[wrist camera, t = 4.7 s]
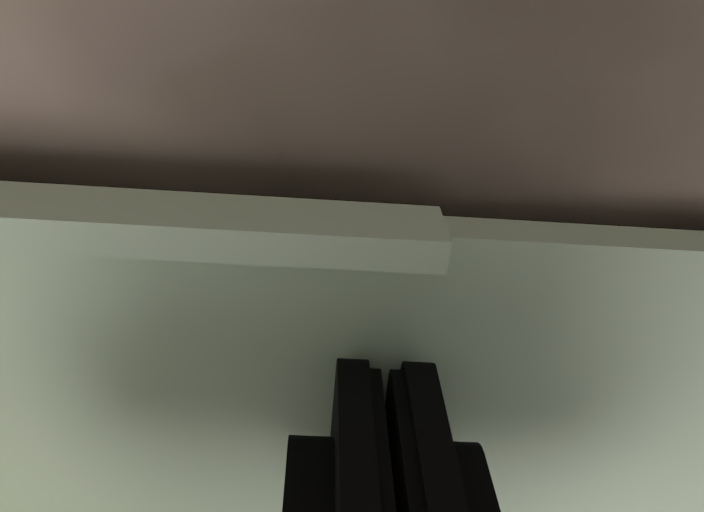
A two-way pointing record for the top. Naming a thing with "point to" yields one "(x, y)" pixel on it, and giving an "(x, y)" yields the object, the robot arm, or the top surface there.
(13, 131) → the top surface
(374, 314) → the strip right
